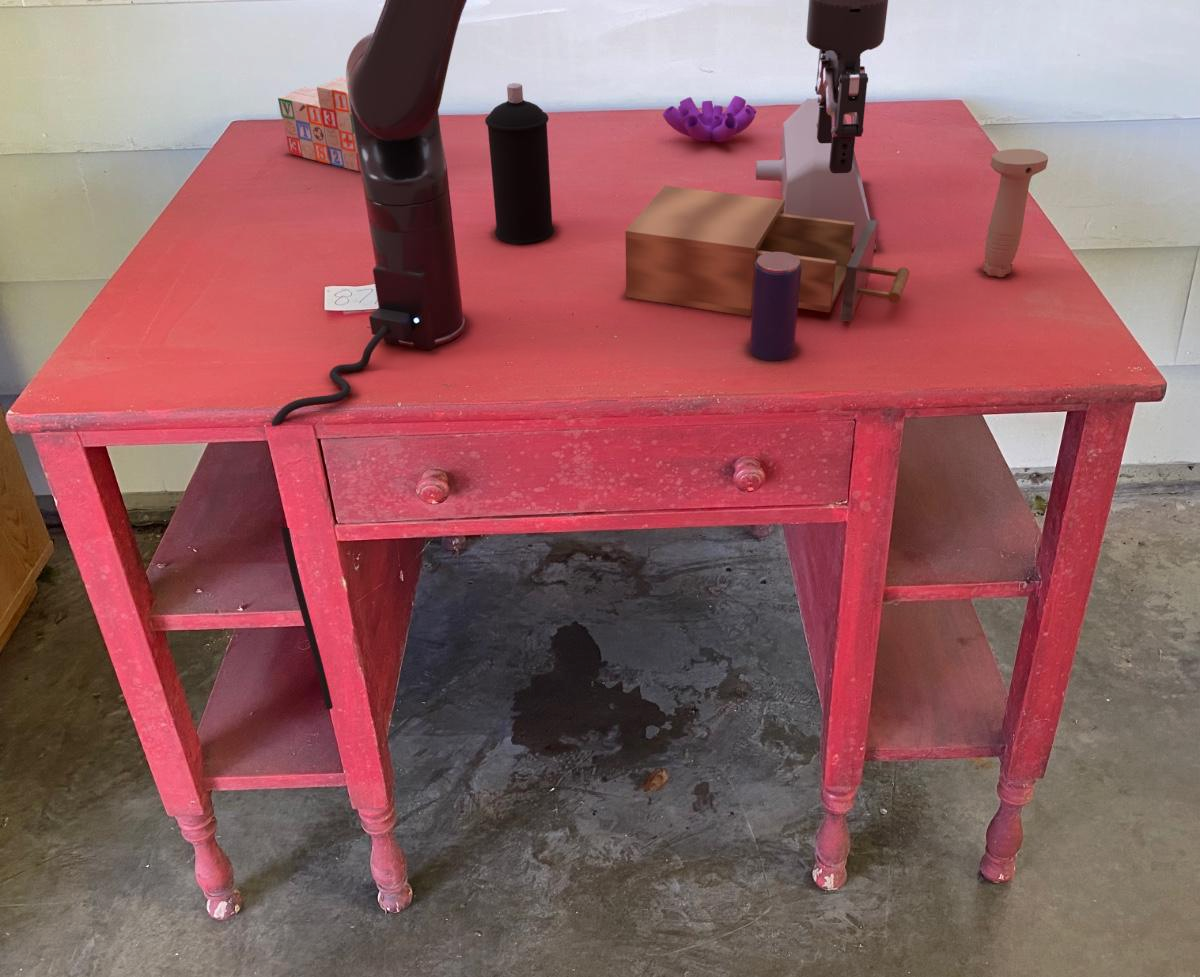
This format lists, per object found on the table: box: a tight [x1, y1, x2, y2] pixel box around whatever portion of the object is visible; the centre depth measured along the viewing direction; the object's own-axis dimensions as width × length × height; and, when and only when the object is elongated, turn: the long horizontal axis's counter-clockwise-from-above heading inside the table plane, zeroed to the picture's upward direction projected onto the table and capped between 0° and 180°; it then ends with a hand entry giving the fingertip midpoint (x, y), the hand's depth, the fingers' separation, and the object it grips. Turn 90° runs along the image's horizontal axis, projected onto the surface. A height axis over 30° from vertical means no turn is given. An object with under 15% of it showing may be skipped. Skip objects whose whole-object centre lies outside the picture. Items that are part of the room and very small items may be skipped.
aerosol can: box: [484, 82, 555, 246], centre depth 148 cm, size 8×8×20 cm
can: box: [749, 252, 802, 362], centre depth 124 cm, size 5×5×11 cm
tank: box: [755, 98, 877, 251], centre depth 153 cm, size 25×16×12 cm, turn 174°
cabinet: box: [624, 185, 785, 317], centre depth 139 cm, size 16×15×9 cm
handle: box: [982, 148, 1049, 278], centre depth 137 cm, size 5×6×15 cm
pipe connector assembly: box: [662, 95, 757, 143], centre depth 179 cm, size 11×15×10 cm
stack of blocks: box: [277, 75, 361, 173], centre depth 175 cm, size 21×6×12 cm, turn 57°
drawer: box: [756, 213, 910, 323], centre depth 134 cm, size 20×14×7 cm
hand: (833, 156), depth 117 cm, fingers open, 8 cm apart
